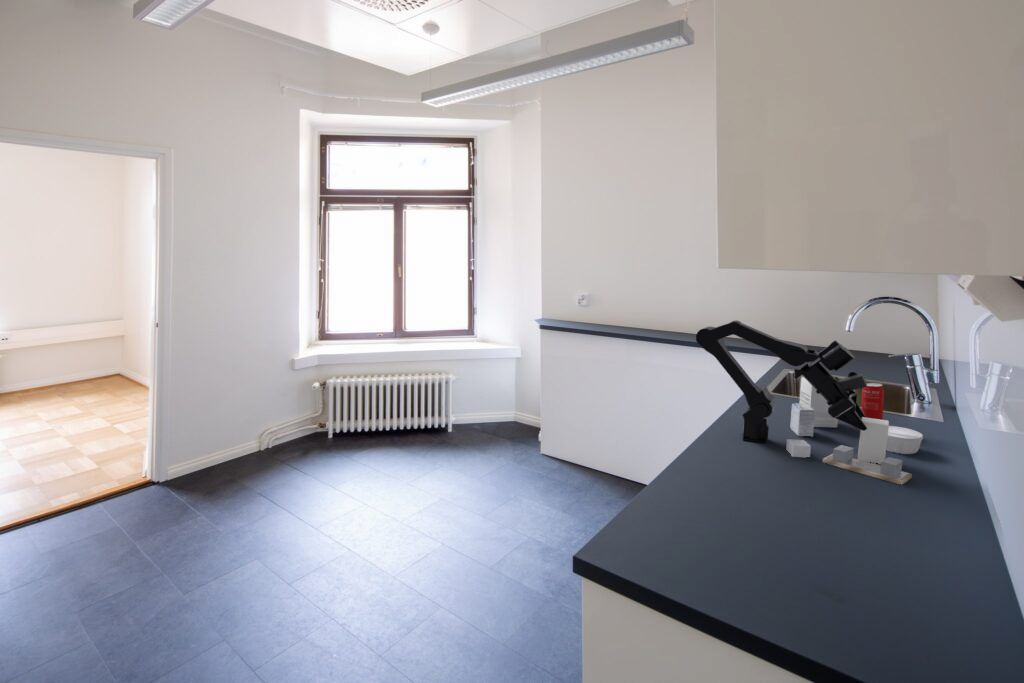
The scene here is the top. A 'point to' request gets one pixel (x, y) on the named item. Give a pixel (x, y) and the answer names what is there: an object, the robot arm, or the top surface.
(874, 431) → the block
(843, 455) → the block
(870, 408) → the beverage can
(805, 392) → the supplement box
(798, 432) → the medicine box
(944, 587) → the top surface
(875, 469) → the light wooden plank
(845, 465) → the board
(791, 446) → the block
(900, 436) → the ramekin
